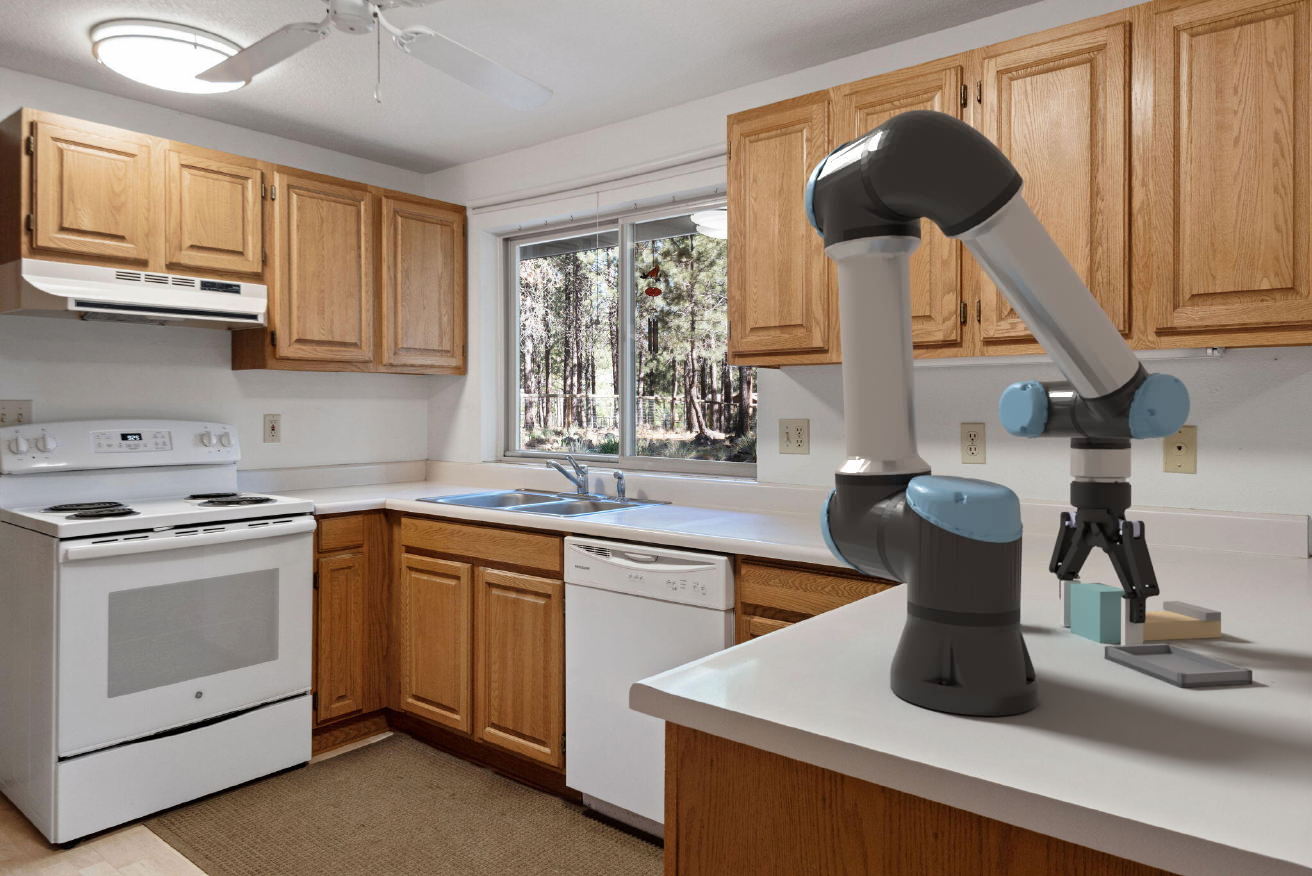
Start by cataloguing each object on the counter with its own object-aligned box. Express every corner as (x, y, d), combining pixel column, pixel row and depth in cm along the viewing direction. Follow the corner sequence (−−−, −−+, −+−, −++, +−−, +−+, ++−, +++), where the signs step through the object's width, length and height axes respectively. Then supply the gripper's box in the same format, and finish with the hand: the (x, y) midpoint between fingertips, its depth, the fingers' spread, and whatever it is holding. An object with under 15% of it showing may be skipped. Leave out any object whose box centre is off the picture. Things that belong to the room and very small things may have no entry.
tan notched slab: (1136, 642, 112) (1136, 615, 112) (1097, 629, 120) (1097, 603, 120) (1225, 638, 115) (1226, 611, 115) (1182, 625, 122) (1182, 600, 122)
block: (1099, 643, 112) (1100, 591, 112) (1070, 632, 118) (1070, 583, 118) (1129, 642, 113) (1129, 590, 113) (1098, 631, 119) (1099, 582, 119)
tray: (1181, 687, 93) (1181, 674, 93) (1104, 658, 105) (1104, 646, 105) (1252, 683, 94) (1252, 670, 94) (1168, 654, 106) (1168, 643, 106)
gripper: (1193, 485, 104) (1192, 657, 104) (1068, 474, 128) (1067, 615, 128) (1140, 485, 103) (1139, 659, 103) (1023, 475, 127) (1023, 617, 127)
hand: (1099, 635), depth 116 cm, fingers open, 12 cm apart
